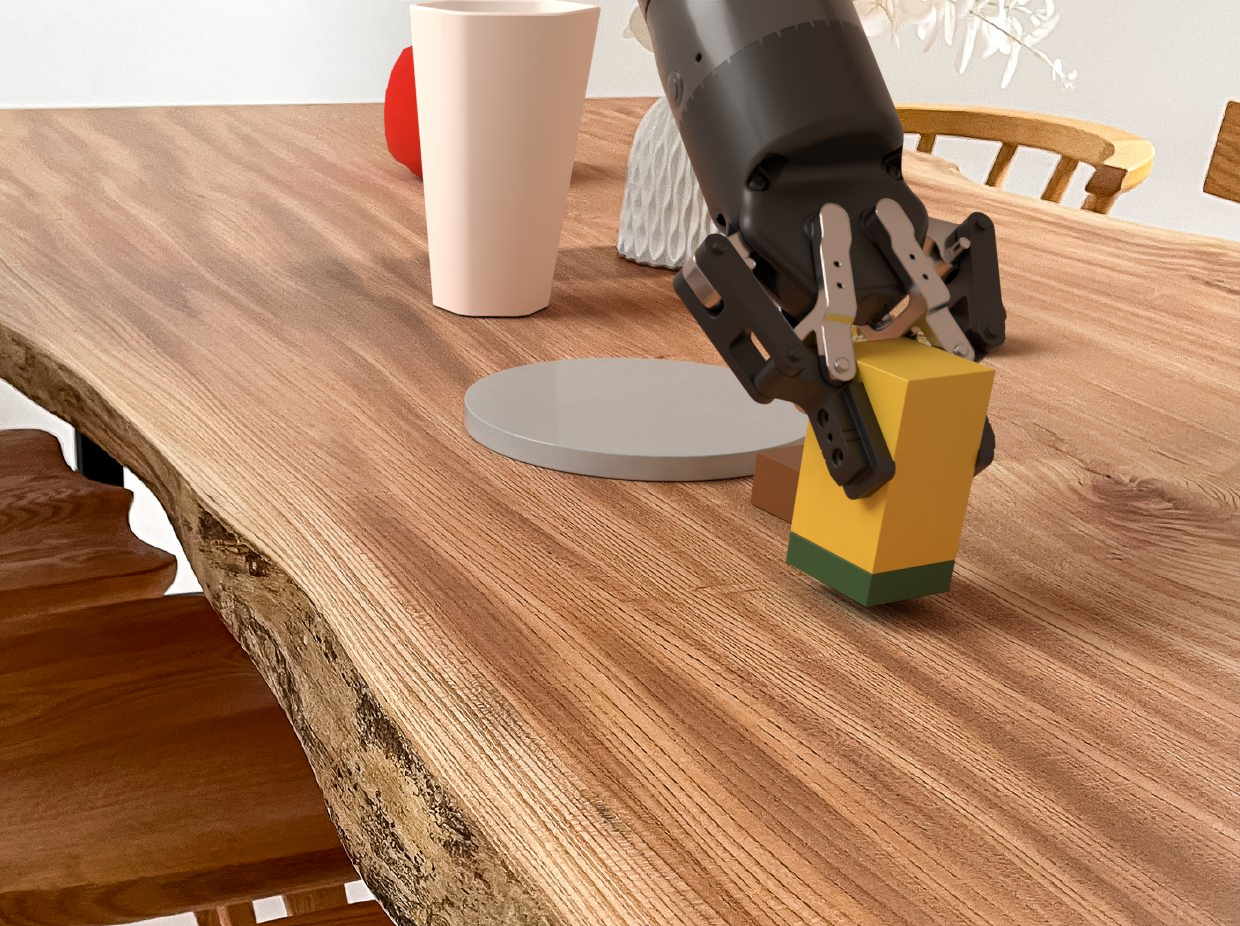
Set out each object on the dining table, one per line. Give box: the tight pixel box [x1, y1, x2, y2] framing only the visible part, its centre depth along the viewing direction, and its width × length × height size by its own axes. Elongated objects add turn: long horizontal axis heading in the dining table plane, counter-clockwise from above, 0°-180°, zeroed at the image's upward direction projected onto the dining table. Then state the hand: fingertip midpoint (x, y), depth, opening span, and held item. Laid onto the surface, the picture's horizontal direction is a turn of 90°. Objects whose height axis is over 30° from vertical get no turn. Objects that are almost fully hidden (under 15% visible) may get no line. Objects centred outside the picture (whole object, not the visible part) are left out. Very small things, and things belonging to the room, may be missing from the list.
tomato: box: [383, 44, 423, 180], centre depth 152 cm, size 14×13×10 cm
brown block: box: [749, 445, 804, 525], centre depth 78 cm, size 4×4×2 cm
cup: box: [409, 0, 602, 317], centre depth 108 cm, size 11×10×17 cm
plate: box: [462, 357, 808, 482], centre depth 89 cm, size 18×18×1 cm
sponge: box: [785, 337, 997, 608], centre depth 67 cm, size 5×4×8 cm
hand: (923, 479), depth 65 cm, fingers closed on sponge, 4 cm apart
